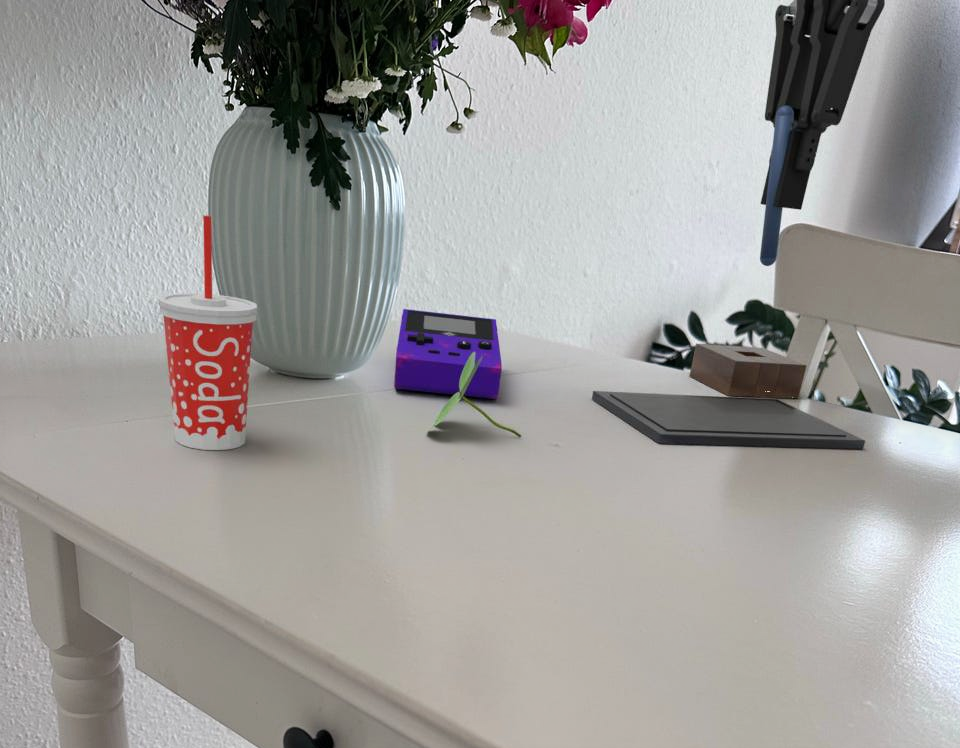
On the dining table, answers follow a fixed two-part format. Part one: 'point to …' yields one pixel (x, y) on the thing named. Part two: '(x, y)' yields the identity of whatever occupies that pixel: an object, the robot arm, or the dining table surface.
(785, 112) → the stylus
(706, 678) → the dining table surface
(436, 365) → the handheld gaming console
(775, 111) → the robot arm
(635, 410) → the tablet
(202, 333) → the beverage cup
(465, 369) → the seedling
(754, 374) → the pen stand
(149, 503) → the dining table surface
